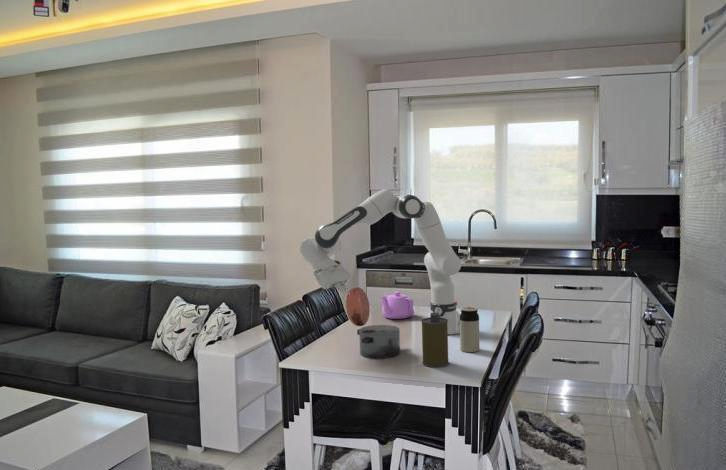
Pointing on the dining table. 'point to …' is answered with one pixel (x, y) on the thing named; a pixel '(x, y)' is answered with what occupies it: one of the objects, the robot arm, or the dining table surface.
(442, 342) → the canister
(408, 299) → the teapot
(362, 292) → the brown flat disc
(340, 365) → the dining table surface
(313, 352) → the dining table surface
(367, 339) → the cooker pot
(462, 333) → the travel mug
